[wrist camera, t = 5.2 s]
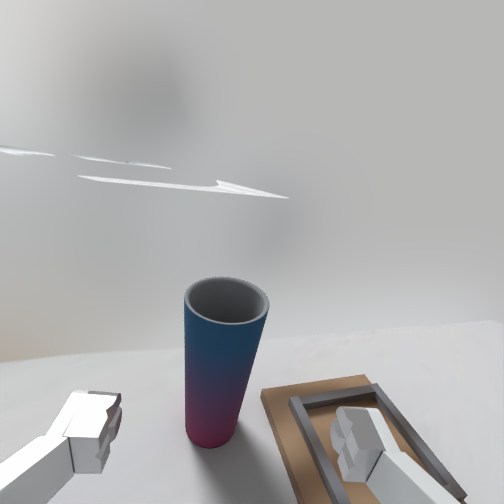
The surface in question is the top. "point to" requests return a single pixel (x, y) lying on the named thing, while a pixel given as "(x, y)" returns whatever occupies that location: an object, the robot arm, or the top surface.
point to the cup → (219, 354)
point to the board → (320, 445)
